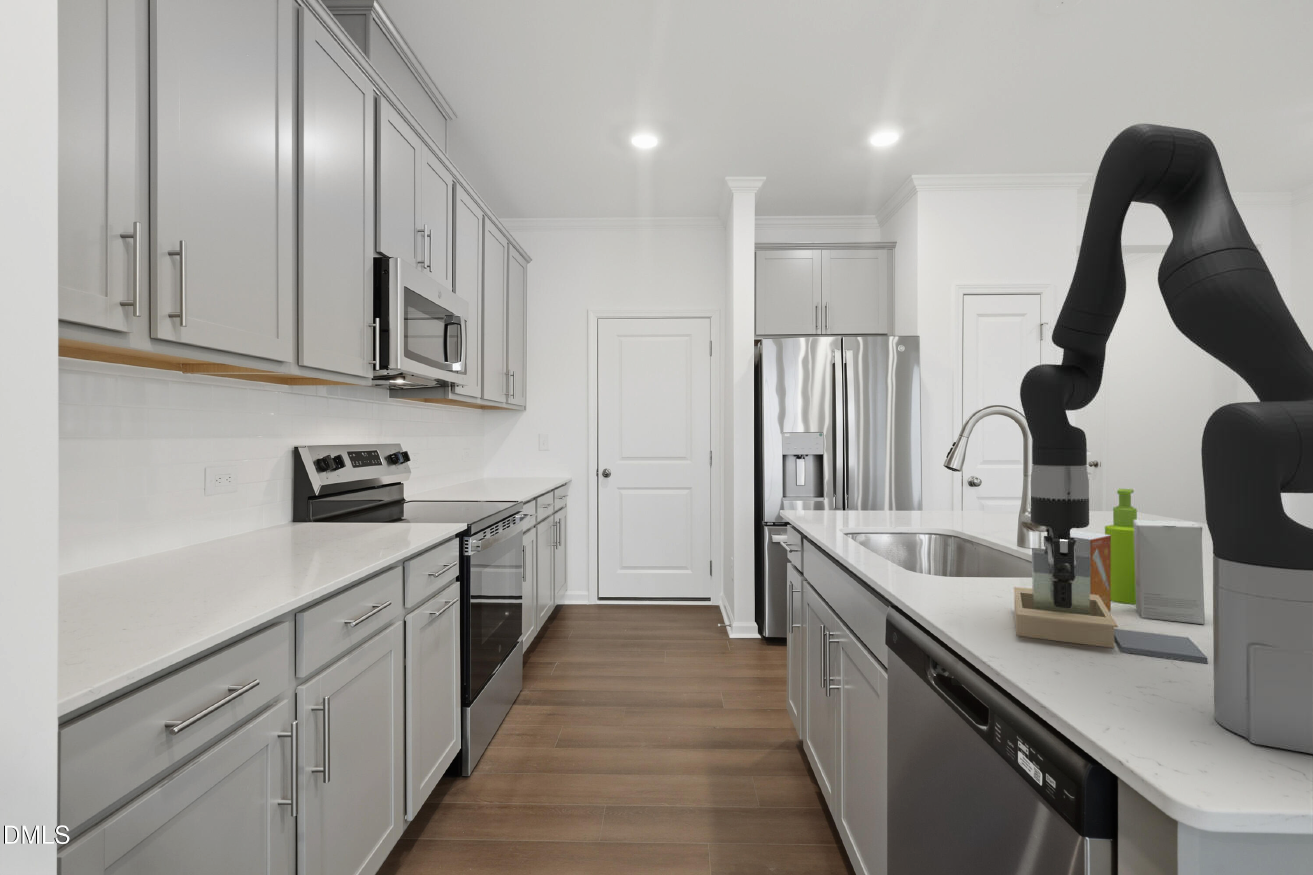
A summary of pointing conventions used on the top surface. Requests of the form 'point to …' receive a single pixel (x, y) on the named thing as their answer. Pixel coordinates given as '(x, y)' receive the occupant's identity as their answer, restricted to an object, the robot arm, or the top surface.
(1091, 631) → the wooden rectangular frame
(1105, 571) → the small box
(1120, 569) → the soap dispenser
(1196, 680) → the top surface
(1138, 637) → the mat
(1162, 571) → the skincare box
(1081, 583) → the tea tin
